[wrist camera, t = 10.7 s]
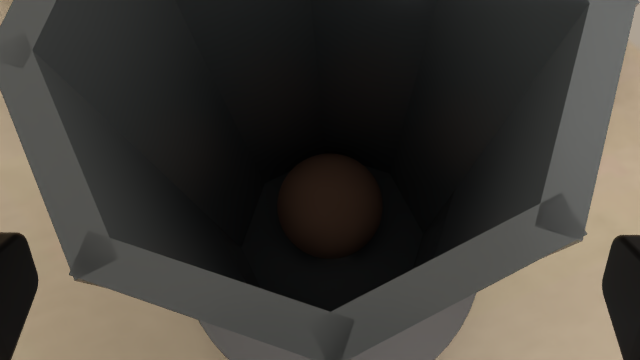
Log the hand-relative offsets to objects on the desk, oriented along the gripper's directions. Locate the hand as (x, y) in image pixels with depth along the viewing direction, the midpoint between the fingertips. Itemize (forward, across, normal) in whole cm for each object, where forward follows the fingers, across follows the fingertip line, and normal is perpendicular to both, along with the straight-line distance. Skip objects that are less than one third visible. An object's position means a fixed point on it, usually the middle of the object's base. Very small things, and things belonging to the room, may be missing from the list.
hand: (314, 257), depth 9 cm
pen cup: (+7, 0, +5) cm, 9 cm away
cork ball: (+6, 0, +3) cm, 7 cm away
